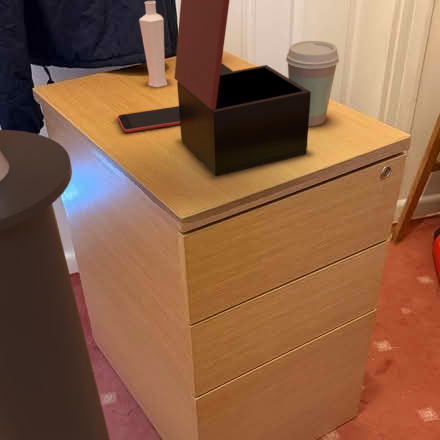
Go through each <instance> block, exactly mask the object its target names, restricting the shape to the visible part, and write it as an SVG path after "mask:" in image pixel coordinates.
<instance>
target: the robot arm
mask: <svg viewBox="0 0 440 440" xmlns="http://www.w3.org/2000/svg"><path fill="white" fill-rule="evenodd" d="M8 171H9V163H8V162H7V160H6V159H5V157H4V156H3V154H2V152H1V151H0V181H1V180H2V179H3V178H4V177H5V176H6V175H7V173H8Z"/></svg>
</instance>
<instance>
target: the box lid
mask: <svg viewBox="0 0 440 440" xmlns="http://www.w3.org/2000/svg"><path fill="white" fill-rule="evenodd" d="M229 7H230V0H180V7H179V18H178V31H177V43H176V55H175V66H174V67H175V68H174V77H173V78H174V80H175V81H176V82H179V83H180V84H182V85H183V86H184V87H185V88H186V89H188V90H189V91H190V92H191V93H192V94H194V95H195V96H196V97H197V98H198V99H199V100H201V101H202V102H203V103H204V104H205V105H207V106H208V107H209V108H210V109H216V103H217V95H218V87H219V79H220V71H221V63H222V64H223V55H224V49H225V48H224V47H225V38H226V30H227V23H228V16H229V9H230V8H229Z"/></svg>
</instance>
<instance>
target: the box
mask: <svg viewBox="0 0 440 440" xmlns="http://www.w3.org/2000/svg"><path fill="white" fill-rule="evenodd" d="M176 83H177V84H176V85H177V99H178V106H179V114H180V124H179V127H180V137H181V138H180V141H181V142H182V144H183V145H185V146H186V148H187V149H188V150H189V151H190V152H191V153H192V154H193V155H194V156H195V157H196V158H197V159H198V160H199V161H200V162H201V163H202V164H203V165H204V166H205V167H206V168H207V170H209V171H210V172H211V173H212V175H214V176H215V177H218V176H219V177H220V176H224V175H227V174H231V173H235V172H238V171H239V172H240V171H243V170H247V169H251V168H255V167H260V166H264V165H267V164H271V163H275V162H279V161H284V160H289V159H292V158H296V157H300V156H305V155H307V152H308V150H307V148H308V137H309V126H308V125H309V112H310V98H311V92H310V91H309V90H307V89H305V88H304V87H302V86H300V85H299V84H297V83H295V82H294V81H292V80H290V79H289V77H287V76H285V75H284V74H282V73H280V72H279V71H278V70H275V69H274V68H273V67H271V66H269V65H268V64H263V65H259V66H254V67H248V68H243V69H237V70H232V71H231V72H226V73H221V74H220V79H219V87H218V95H217V103H216V109H210V108H209V107H208V106H207V105H205V104H204V103H203V102H202V101H201V100H199V99H198V98H197V97H196V96H195V95H194V94H192V93H191V92H190V91H189V90H188V89H186V88H185V87H184V86H183V85H182V84H180V83H179V82H178V81H176Z"/></svg>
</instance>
